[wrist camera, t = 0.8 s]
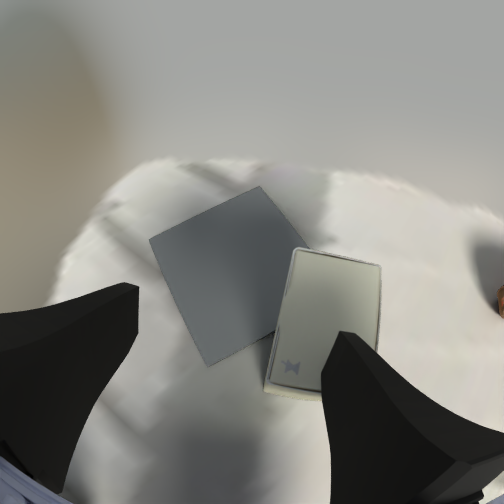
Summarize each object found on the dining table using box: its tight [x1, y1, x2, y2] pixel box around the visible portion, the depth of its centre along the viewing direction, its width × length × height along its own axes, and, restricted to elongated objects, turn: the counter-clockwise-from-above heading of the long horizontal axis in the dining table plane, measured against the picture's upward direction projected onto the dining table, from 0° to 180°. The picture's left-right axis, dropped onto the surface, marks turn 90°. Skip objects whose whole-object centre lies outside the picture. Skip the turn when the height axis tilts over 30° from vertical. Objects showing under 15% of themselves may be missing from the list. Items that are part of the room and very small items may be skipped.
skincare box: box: [263, 247, 382, 401], centre depth 16 cm, size 6×4×12 cm
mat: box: [149, 186, 310, 367], centre depth 26 cm, size 14×13×1 cm
